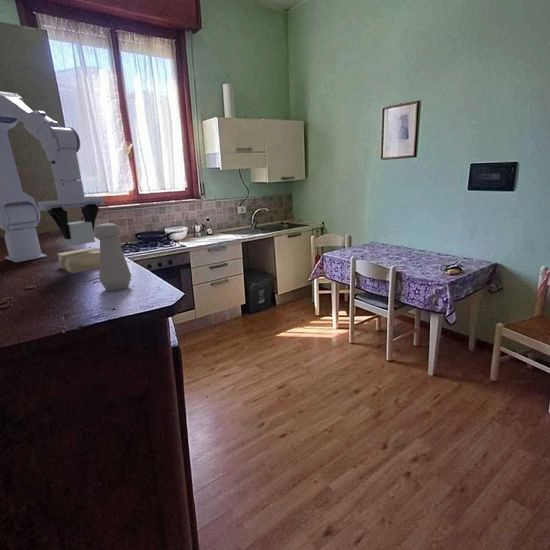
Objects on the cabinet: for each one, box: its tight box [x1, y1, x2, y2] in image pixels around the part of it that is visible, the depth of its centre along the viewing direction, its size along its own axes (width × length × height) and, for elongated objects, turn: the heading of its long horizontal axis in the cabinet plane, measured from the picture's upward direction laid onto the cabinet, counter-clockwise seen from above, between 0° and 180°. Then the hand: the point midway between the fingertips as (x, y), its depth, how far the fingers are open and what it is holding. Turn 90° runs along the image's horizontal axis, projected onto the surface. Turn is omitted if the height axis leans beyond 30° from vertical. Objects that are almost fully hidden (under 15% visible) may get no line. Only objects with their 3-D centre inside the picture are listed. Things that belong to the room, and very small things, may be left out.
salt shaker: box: [94, 222, 132, 293], centre depth 70 cm, size 6×6×13 cm
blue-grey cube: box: [64, 220, 96, 246], centre depth 89 cm, size 5×5×5 cm
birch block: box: [57, 246, 100, 274], centre depth 91 cm, size 9×9×4 cm
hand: (79, 236), depth 90 cm, fingers closed on blue-grey cube, 5 cm apart
